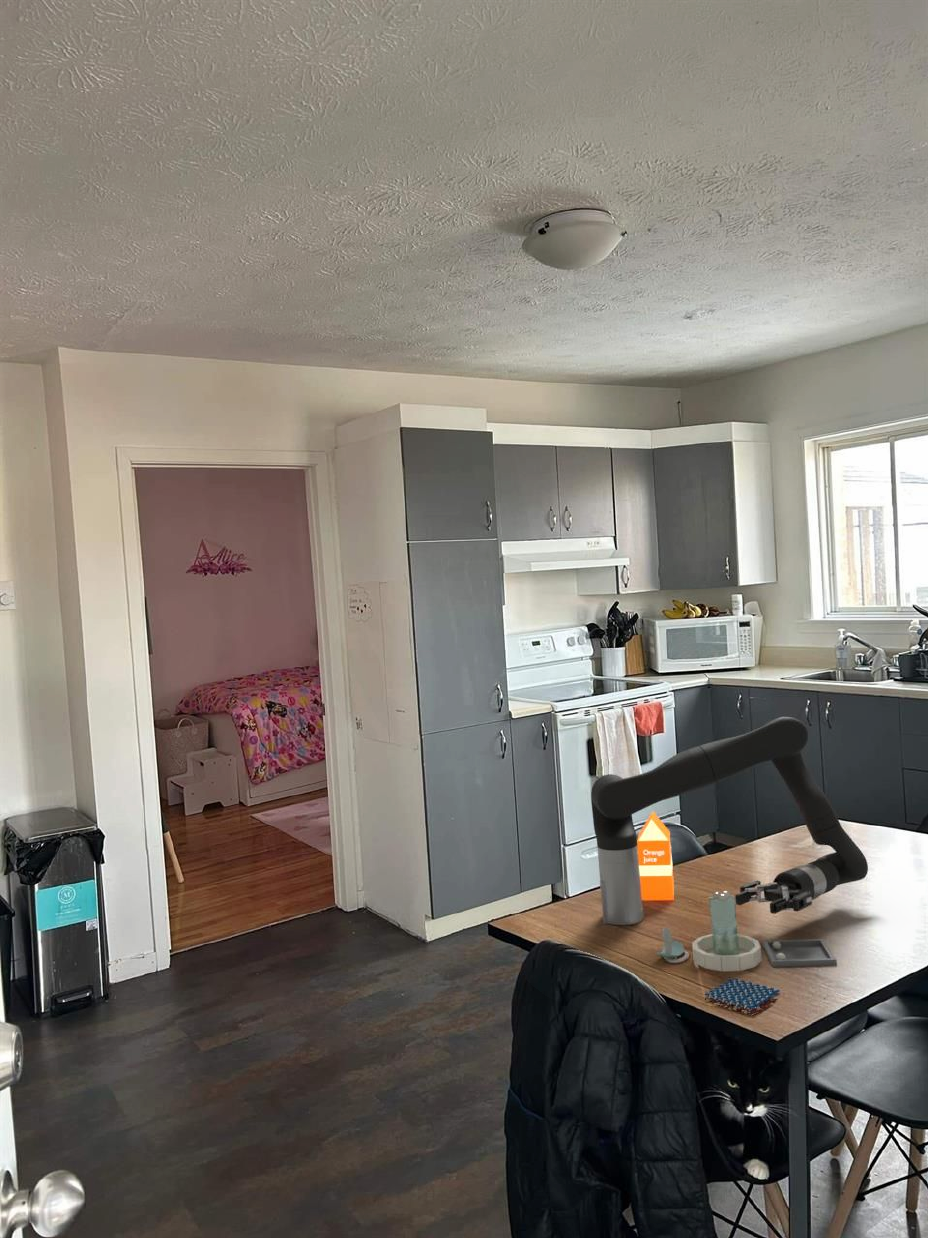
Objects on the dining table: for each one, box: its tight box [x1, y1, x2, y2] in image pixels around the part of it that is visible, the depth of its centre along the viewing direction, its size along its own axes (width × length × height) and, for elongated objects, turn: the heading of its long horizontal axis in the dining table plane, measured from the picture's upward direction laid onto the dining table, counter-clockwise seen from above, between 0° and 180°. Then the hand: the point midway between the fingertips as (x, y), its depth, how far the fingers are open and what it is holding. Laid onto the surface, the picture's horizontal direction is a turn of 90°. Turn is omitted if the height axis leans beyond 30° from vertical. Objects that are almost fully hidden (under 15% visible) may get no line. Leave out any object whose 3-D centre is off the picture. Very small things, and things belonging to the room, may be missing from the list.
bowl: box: [691, 933, 762, 972], centre depth 193 cm, size 13×13×4 cm
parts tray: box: [762, 938, 838, 968], centre depth 191 cm, size 12×11×3 cm
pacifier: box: [655, 926, 690, 964], centre depth 197 cm, size 7×6×6 cm
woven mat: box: [704, 977, 780, 1016], centre depth 175 cm, size 10×11×2 cm
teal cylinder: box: [708, 890, 740, 955], centre depth 193 cm, size 5×5×13 cm
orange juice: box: [637, 810, 675, 901], centre depth 238 cm, size 8×9×20 cm
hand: (754, 904), depth 198 cm, fingers open, 8 cm apart
